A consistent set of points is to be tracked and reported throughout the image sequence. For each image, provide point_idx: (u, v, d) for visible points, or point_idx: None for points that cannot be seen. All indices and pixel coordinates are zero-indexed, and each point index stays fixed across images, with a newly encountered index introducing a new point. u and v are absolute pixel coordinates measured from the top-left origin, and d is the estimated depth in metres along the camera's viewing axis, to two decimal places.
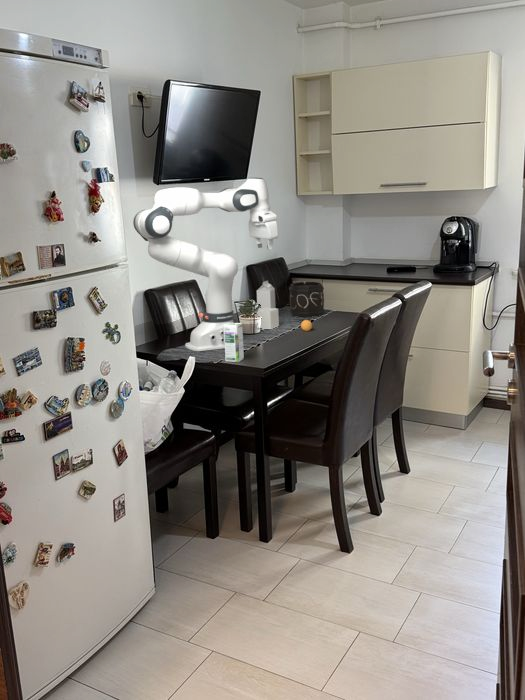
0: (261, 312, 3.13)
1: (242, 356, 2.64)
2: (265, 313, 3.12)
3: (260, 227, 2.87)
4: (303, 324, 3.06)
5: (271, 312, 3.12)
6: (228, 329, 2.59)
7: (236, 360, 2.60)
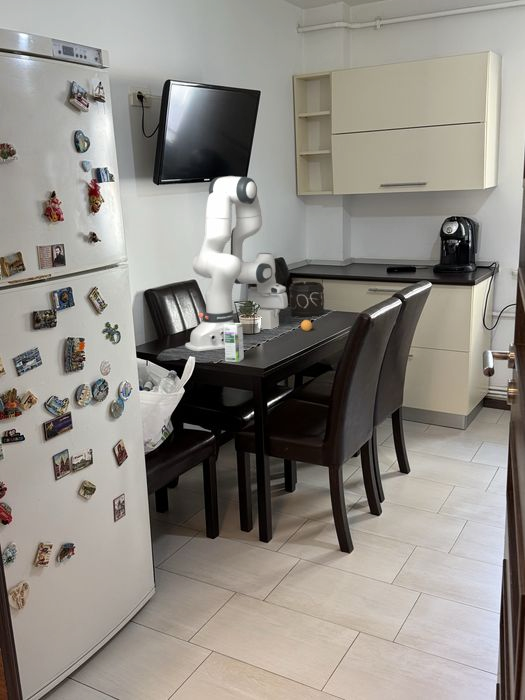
0: (261, 312, 3.13)
1: (242, 356, 2.64)
2: (265, 313, 3.12)
3: (267, 297, 3.12)
4: (303, 324, 3.06)
5: (271, 312, 3.12)
6: (228, 329, 2.59)
7: (236, 360, 2.60)
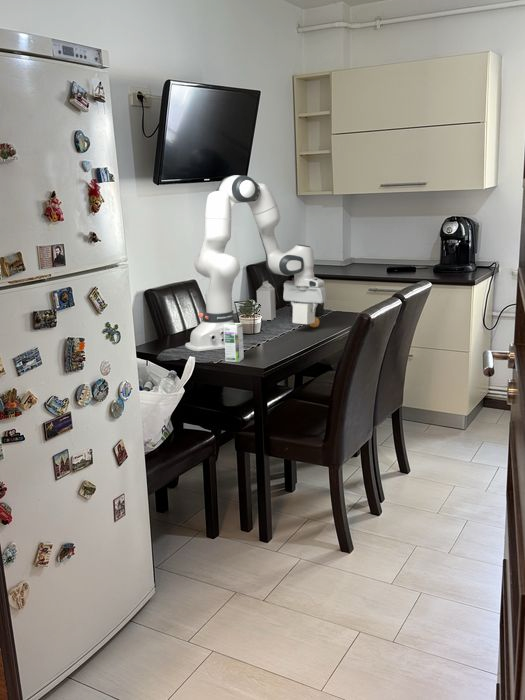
0: (298, 305, 3.02)
1: (242, 356, 2.64)
2: (302, 306, 3.01)
3: (305, 291, 3.01)
4: None
5: (308, 305, 3.00)
6: (228, 329, 2.59)
7: (236, 360, 2.60)
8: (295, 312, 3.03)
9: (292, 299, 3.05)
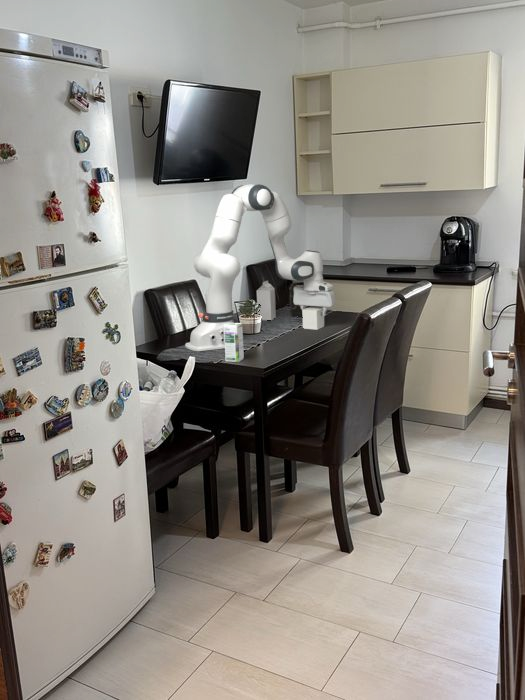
0: (307, 311, 3.10)
1: (242, 356, 2.64)
2: (311, 312, 3.09)
3: (314, 296, 3.10)
4: None
5: (317, 311, 3.09)
6: (228, 329, 2.59)
7: (236, 360, 2.60)
8: (305, 318, 3.12)
9: (302, 303, 3.14)
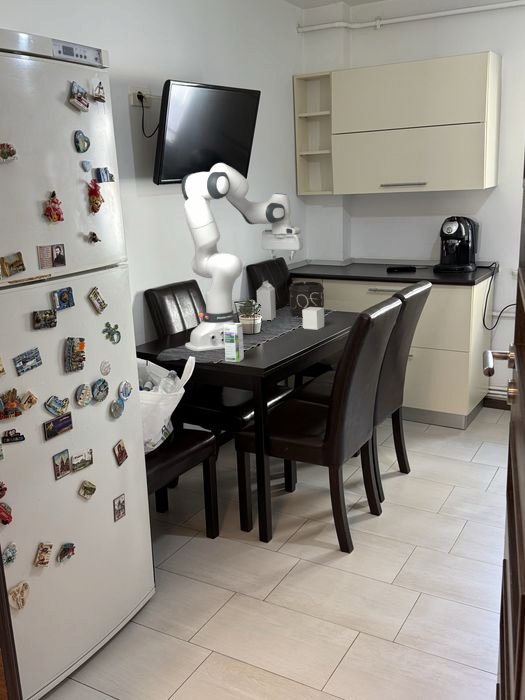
0: (307, 311, 3.10)
1: (242, 356, 2.64)
2: (311, 312, 3.09)
3: (282, 239, 3.10)
4: None
5: (317, 311, 3.09)
6: (228, 329, 2.59)
7: (236, 360, 2.60)
8: (305, 318, 3.12)
9: (270, 248, 3.14)
